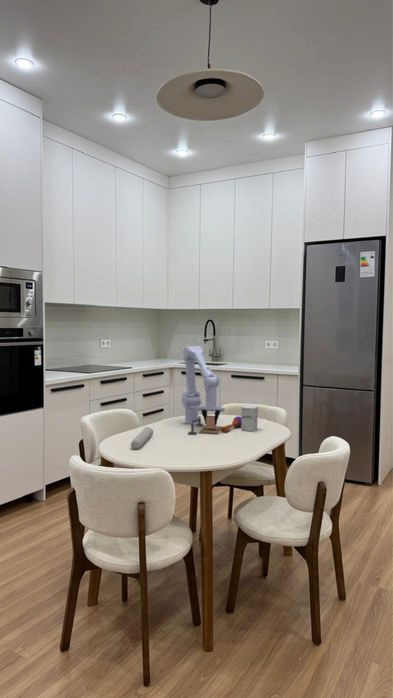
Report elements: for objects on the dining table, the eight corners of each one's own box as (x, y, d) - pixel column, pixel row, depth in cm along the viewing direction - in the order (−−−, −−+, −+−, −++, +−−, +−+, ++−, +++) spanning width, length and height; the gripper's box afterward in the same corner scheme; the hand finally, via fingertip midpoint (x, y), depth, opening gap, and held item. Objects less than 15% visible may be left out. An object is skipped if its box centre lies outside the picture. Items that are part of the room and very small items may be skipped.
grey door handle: (196, 424, 266) (196, 415, 266) (203, 425, 265) (203, 415, 265) (187, 434, 243) (187, 424, 242) (195, 435, 242) (195, 424, 242)
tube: (142, 442, 213) (154, 429, 238) (131, 438, 213) (144, 425, 238) (138, 453, 213) (151, 438, 238) (127, 448, 214) (141, 435, 239)
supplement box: (240, 430, 253) (241, 407, 252) (244, 427, 259) (244, 404, 259) (254, 431, 250) (254, 408, 249) (257, 429, 257) (258, 405, 256)
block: (207, 426, 255) (207, 415, 255) (215, 426, 254) (215, 415, 254) (206, 428, 251) (206, 417, 250) (214, 428, 250) (214, 417, 249)
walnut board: (204, 426, 261) (204, 425, 261) (222, 427, 259) (222, 426, 259) (198, 433, 246) (198, 432, 246) (217, 434, 244) (218, 433, 244)
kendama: (217, 424, 249) (235, 415, 266) (219, 435, 249) (237, 426, 266) (227, 424, 246) (244, 414, 262) (229, 435, 246) (246, 425, 263)
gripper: (196, 399, 249) (196, 425, 250) (223, 400, 246) (223, 426, 247) (198, 397, 256) (198, 422, 257) (225, 398, 253) (225, 423, 254)
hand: (210, 424), depth 252 cm, fingers closed on block, 4 cm apart
